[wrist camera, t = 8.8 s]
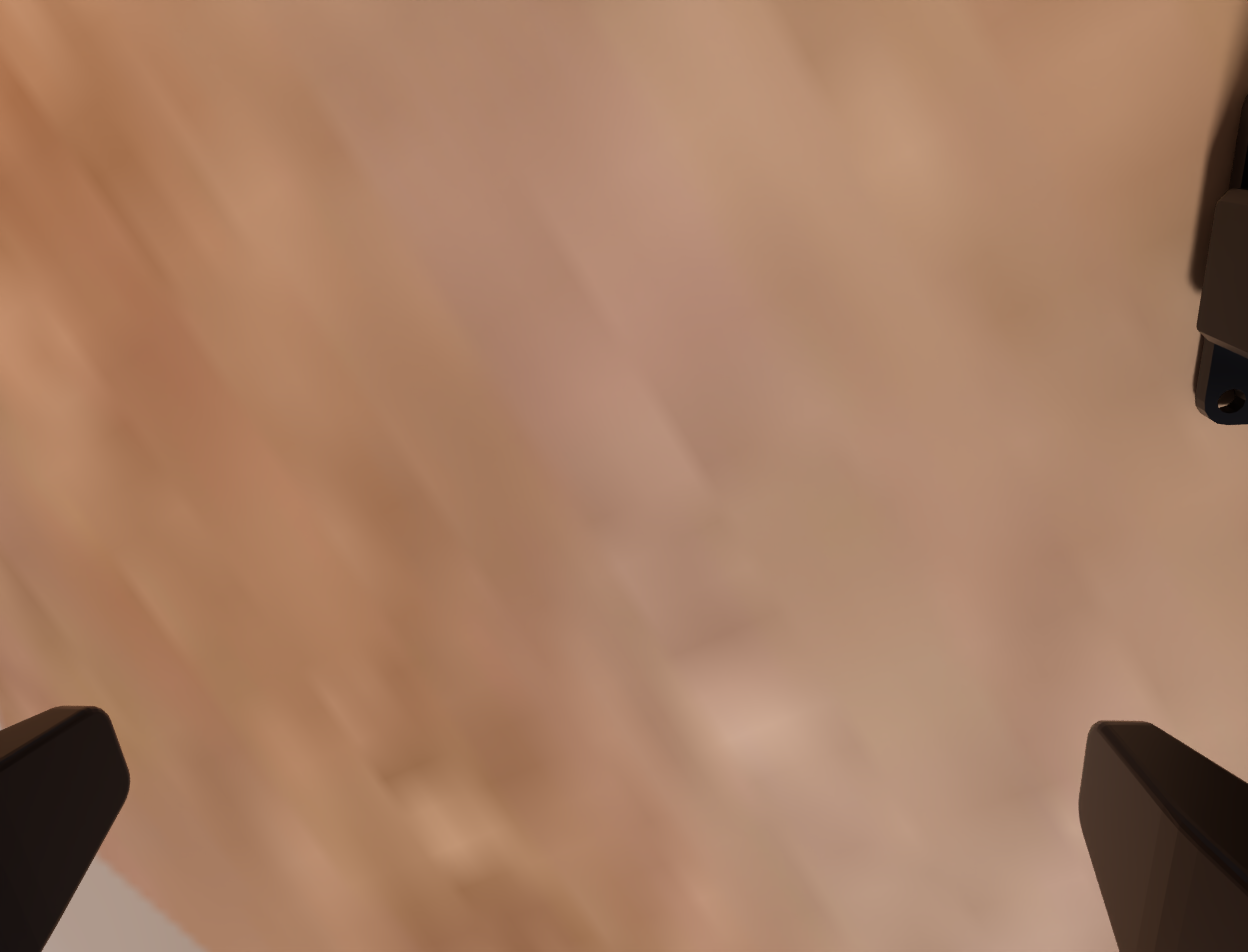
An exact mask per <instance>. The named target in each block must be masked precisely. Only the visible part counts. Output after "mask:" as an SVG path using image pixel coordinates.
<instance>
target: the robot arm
mask: <svg viewBox="0 0 1248 952" xmlns="http://www.w3.org/2000/svg"><path fill="white" fill-rule="evenodd" d="M1197 330H1198V331H1199V332H1200V333H1201V334H1202V335H1203V336H1204V337H1205V339H1204V345H1203V351H1202V357H1201V363H1200V369H1199V375H1198V382H1197V388H1196V394H1195V404H1196V407H1197V409H1198V410H1199V412H1200V413H1201V414H1203V415H1204V416H1206V417H1208V418H1209V419H1211V420H1212V421H1214V422H1216V423H1217V424H1224V425H1241V424H1248V94H1247V96H1246V98H1245V101H1244V104H1243V107H1242V112H1241V118H1240V124H1239V130H1238V136H1237V143H1236V149H1235V155H1234V161H1233V167H1232V173H1231V179H1230V185H1229V190H1228V191H1227V192H1226V193H1225V194H1224V195H1223V196H1222V197H1221V198H1220V199H1219V200H1218V202H1217V203H1216V206H1215V213H1214V219H1213V225H1212V231H1211V238H1210V244H1209V250H1208V257H1207V263H1206V269H1205V275H1204V282H1203V288H1202V294H1201V301H1200V307H1199V313H1198V320H1197ZM1231 389H1235V397H1234V399H1233V401H1232V402H1231V403H1230V404H1228V405H1227V406H1224V407H1220V408H1218V400H1219V398H1220V396H1221V395H1222V394H1223V393H1224V392H1226V391H1227V390H1231ZM129 787H130V773H129V770H128V767H127V764H126V761H125V758H124V756H123V753H122V750H121V747H120V744H119V742H118V739H117V736H116V733H115V730H114V728H113V725H112V722H111V720H110V718H109V716H108V715H107V714H106V713H105V712H104V711H103V710H102V709H101V708H98V707H95V706H59V707H55V708H52V709H49V710H47V711H45V712H42V713H40V714H38V715H35V716H33V717H31V718H28V719H26V720H24V721H21V722H19V723H17V724H15V725H12V726H10V727H8V728H5V729H3V730H1V731H0V952H42V950H43V948H44V946H45V945H46V943H47V941H48V940H49V938H50V936H51V934H52V933H53V931H54V929H55V927H56V926H57V924H58V922H59V920H60V918H61V917H62V915H63V913H64V911H65V909H66V908H67V906H68V904H69V902H70V900H71V898H72V897H73V895H74V893H75V891H76V890H77V888H78V886H79V884H80V882H81V880H82V879H83V877H84V875H85V873H86V871H87V870H88V868H89V866H90V864H91V862H92V861H93V859H94V857H95V855H96V853H97V852H98V850H99V848H100V846H101V844H102V843H103V841H104V839H105V837H106V835H107V833H108V832H109V830H110V828H111V826H112V824H113V823H114V821H115V819H116V817H117V815H118V814H119V812H120V810H121V808H122V806H123V805H124V803H125V800H126V798H127V795H128V792H129ZM1079 818H1080V824H1081V828H1082V832H1083V836H1084V839H1085V842H1086V845H1087V848H1088V852H1089V855H1090V858H1091V861H1092V865H1093V868H1094V871H1095V874H1096V878H1097V881H1098V884H1099V887H1100V890H1101V894H1102V897H1103V900H1104V903H1105V907H1106V910H1107V913H1108V916H1109V920H1110V923H1111V926H1112V929H1113V932H1114V936H1115V939H1116V942H1117V945H1118V949H1119V952H1248V783H1246V782H1245V781H1243V780H1242V779H1240V778H1238V777H1237V776H1235V775H1234V774H1232V773H1230V772H1229V771H1227V770H1226V769H1224V768H1222V767H1221V766H1219V765H1218V764H1216V763H1214V762H1213V761H1211V760H1210V759H1208V758H1206V757H1205V756H1203V755H1202V754H1200V753H1198V752H1197V751H1195V750H1194V749H1192V748H1190V747H1189V746H1187V745H1186V744H1184V743H1182V742H1181V741H1179V740H1177V739H1176V738H1174V737H1173V736H1171V735H1169V734H1168V733H1166V732H1165V731H1163V730H1161V729H1160V728H1158V727H1156V726H1155V725H1153V724H1151V723H1148V722H1144V721H1098V722H1097V723H1095V724H1094V725H1092V727H1091V729H1090V731H1089V733H1088V737H1087V743H1086V750H1085V757H1084V765H1083V772H1082V779H1081V786H1080V793H1079Z"/></svg>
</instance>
